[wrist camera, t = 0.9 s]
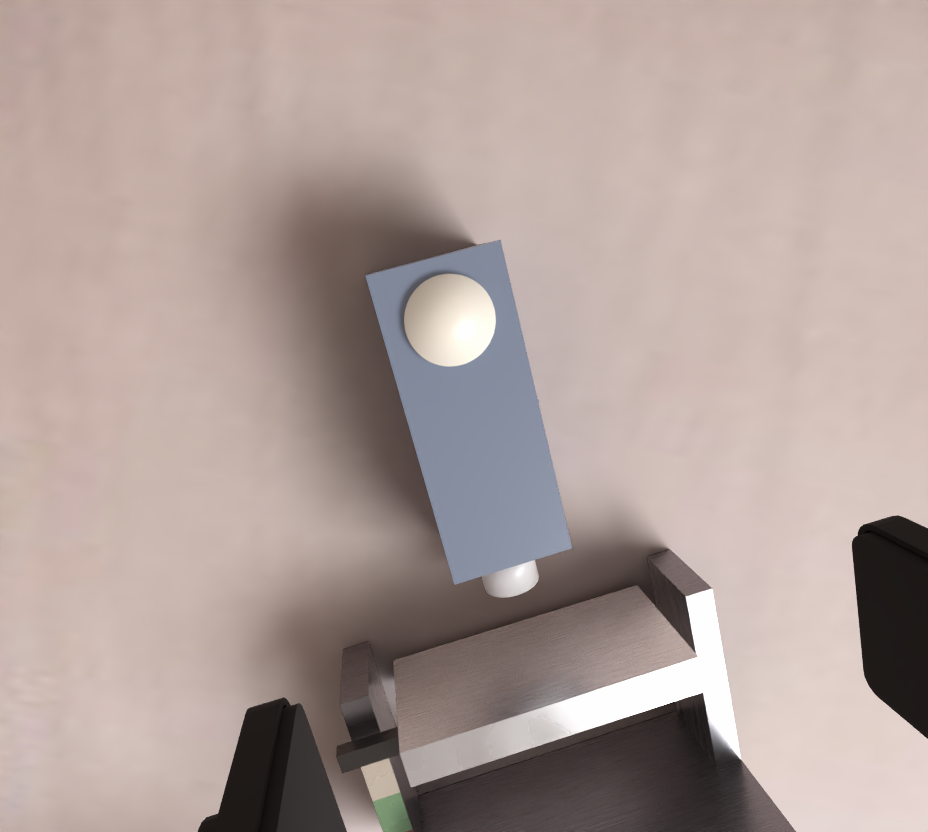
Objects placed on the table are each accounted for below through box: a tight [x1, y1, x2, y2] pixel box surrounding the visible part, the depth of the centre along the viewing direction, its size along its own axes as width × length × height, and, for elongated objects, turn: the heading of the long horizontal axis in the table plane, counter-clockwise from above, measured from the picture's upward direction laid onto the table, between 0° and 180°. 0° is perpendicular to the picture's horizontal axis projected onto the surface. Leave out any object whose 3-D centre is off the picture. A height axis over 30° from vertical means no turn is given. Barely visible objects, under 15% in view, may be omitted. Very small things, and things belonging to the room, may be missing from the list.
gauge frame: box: [340, 550, 796, 832], centre depth 28 cm, size 10×16×8 cm, turn 104°
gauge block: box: [365, 240, 572, 598], centre depth 26 cm, size 5×14×5 cm, turn 14°
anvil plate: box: [336, 585, 705, 787], centre depth 28 cm, size 2×15×6 cm, turn 104°
